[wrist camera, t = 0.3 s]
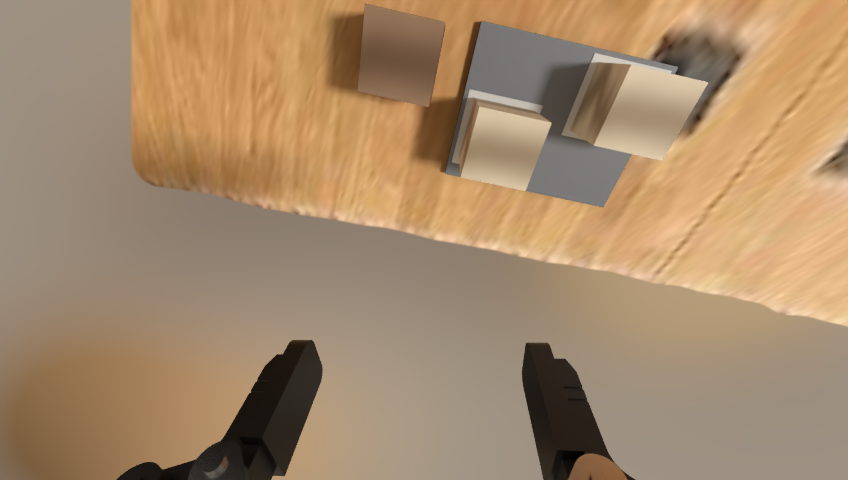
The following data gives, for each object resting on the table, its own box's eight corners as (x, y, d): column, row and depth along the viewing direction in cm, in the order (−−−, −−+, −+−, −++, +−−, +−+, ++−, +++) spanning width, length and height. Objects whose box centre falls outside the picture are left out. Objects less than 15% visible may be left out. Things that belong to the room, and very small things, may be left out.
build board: (480, 21, 28) (481, 20, 28) (672, 66, 29) (679, 66, 28) (445, 171, 36) (445, 174, 35) (600, 204, 36) (603, 207, 36)
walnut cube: (379, 11, 29) (364, 3, 24) (445, 27, 29) (444, 22, 24) (372, 84, 32) (357, 91, 27) (431, 98, 32) (428, 107, 27)
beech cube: (474, 97, 31) (479, 106, 26) (534, 110, 31) (551, 122, 26) (458, 158, 34) (460, 177, 29) (513, 169, 34) (525, 191, 29)
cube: (598, 62, 29) (631, 64, 24) (661, 76, 29) (708, 82, 24) (569, 130, 32) (593, 145, 27) (627, 142, 32) (662, 160, 27)
